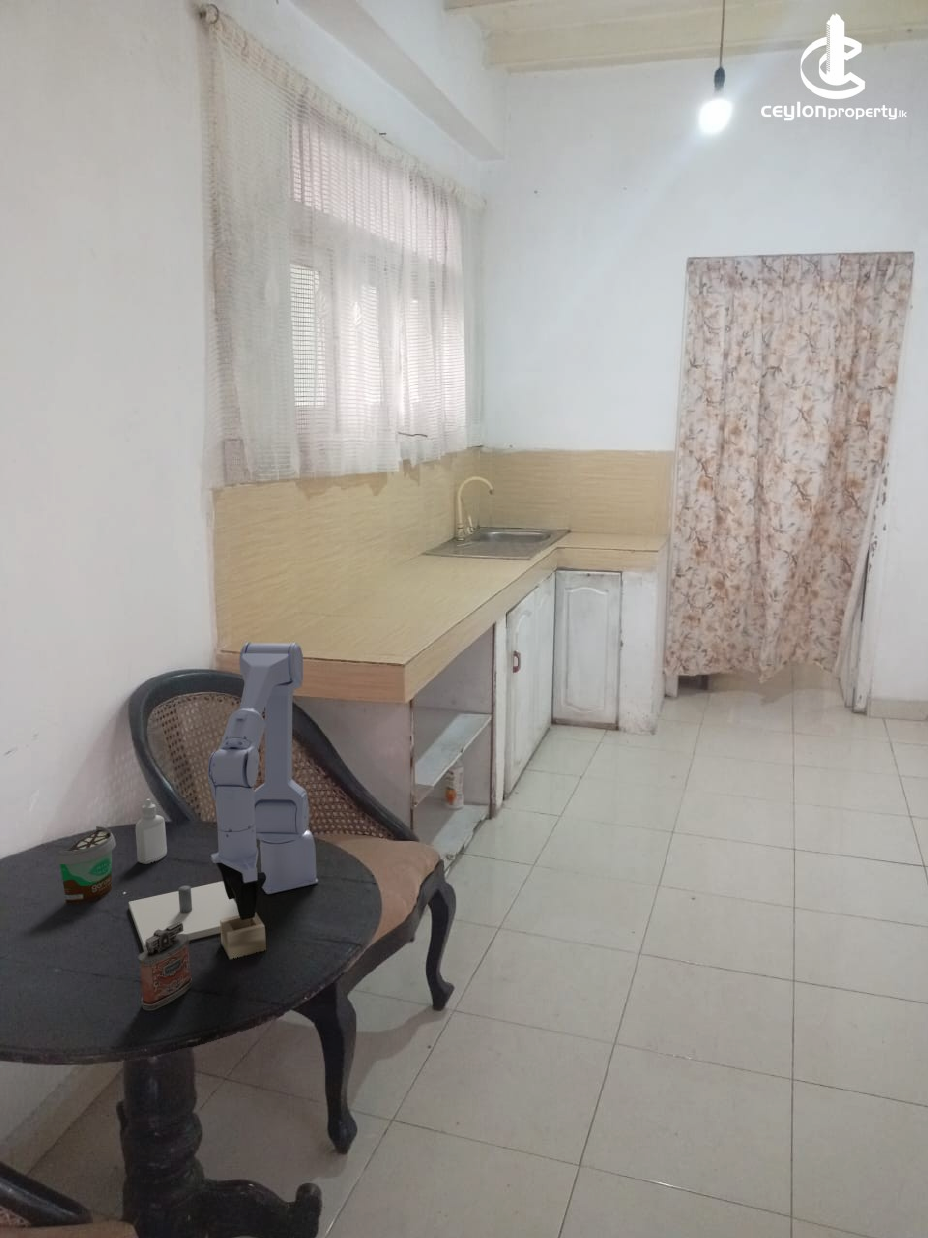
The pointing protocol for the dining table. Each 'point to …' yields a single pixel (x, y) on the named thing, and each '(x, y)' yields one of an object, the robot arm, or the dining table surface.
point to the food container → (88, 867)
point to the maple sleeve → (242, 936)
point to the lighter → (165, 967)
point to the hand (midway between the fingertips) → (241, 907)
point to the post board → (193, 921)
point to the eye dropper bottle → (150, 835)
